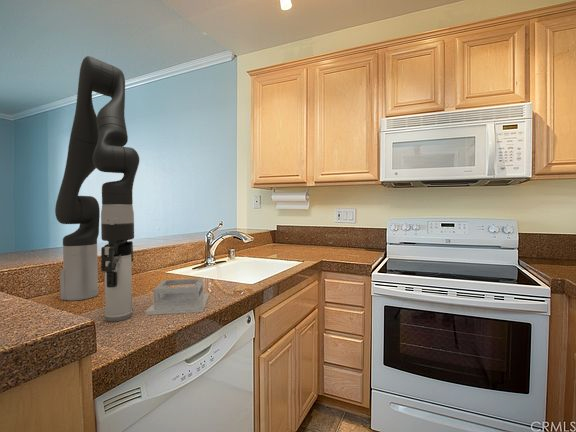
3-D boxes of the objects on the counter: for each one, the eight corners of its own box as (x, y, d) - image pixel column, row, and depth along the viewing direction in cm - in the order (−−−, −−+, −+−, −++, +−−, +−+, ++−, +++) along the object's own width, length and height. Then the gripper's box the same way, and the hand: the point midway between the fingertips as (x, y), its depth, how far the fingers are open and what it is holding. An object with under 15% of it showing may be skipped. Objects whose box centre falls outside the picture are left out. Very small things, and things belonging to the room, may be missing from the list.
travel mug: (137, 312, 82) (136, 240, 81) (124, 321, 75) (123, 243, 75) (114, 313, 82) (113, 241, 81) (99, 322, 75) (98, 243, 75)
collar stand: (145, 315, 80) (145, 291, 80) (160, 298, 95) (160, 278, 95) (202, 311, 82) (202, 288, 82) (208, 296, 97) (208, 276, 97)
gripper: (114, 221, 84) (115, 277, 85) (88, 223, 70) (90, 290, 71) (142, 220, 86) (142, 276, 86) (122, 222, 71) (123, 289, 72)
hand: (119, 282), depth 78 cm, fingers open, 8 cm apart
